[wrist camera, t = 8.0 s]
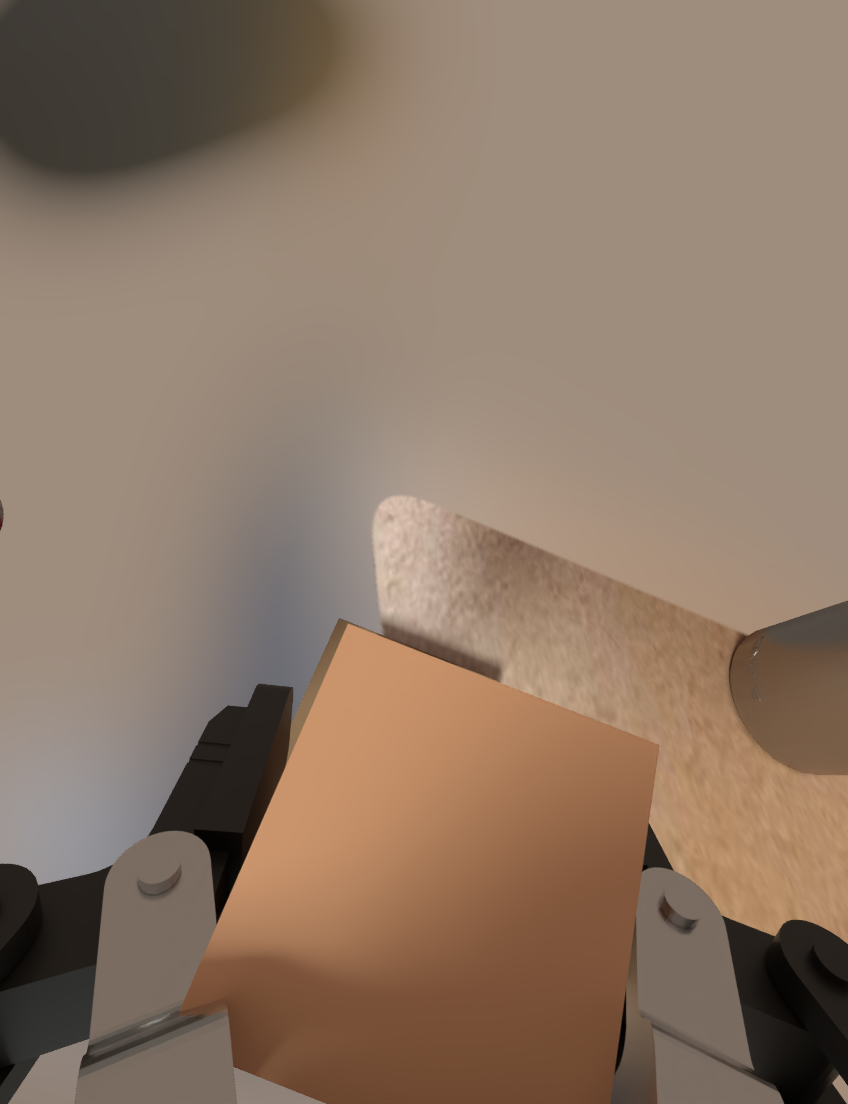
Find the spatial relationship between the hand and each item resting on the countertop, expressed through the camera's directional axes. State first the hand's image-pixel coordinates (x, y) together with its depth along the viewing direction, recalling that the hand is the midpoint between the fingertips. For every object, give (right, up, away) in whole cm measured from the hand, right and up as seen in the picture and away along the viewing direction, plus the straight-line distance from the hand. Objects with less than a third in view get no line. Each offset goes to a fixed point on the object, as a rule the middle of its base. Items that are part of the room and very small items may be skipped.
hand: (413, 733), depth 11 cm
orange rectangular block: (-1, -3, +3) cm, 4 cm away
